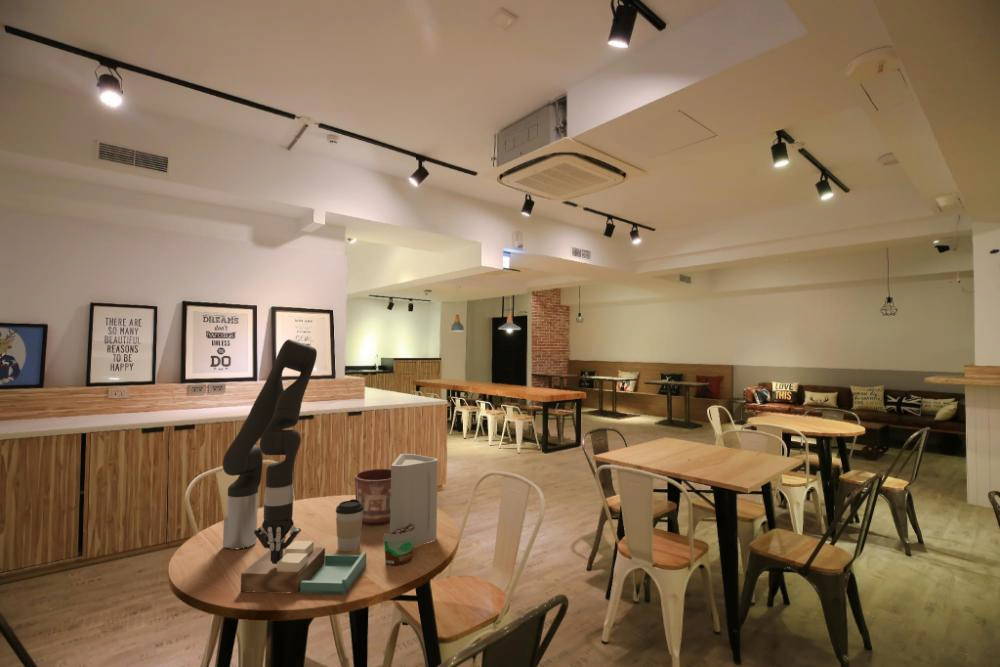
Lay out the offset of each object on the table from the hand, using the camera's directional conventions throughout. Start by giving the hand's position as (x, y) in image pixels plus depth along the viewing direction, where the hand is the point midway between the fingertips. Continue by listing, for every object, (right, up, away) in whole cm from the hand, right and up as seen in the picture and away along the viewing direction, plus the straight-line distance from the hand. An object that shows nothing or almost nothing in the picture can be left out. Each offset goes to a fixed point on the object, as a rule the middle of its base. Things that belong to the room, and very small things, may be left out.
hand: (276, 562), depth 133 cm
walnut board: (0, -6, +5) cm, 8 cm away
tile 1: (+3, -2, +9) cm, 10 cm away
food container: (+33, -8, +16) cm, 37 cm away
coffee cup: (+12, -8, +26) cm, 30 cm away
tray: (+15, -7, +4) cm, 17 cm away
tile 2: (+4, -1, 0) cm, 5 cm away
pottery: (+15, -9, +52) cm, 55 cm away
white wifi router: (+33, -8, +34) cm, 48 cm away
